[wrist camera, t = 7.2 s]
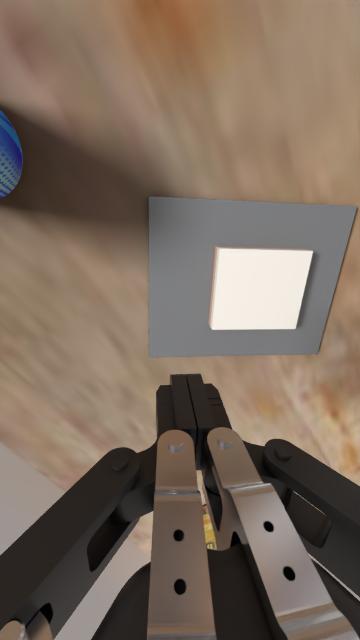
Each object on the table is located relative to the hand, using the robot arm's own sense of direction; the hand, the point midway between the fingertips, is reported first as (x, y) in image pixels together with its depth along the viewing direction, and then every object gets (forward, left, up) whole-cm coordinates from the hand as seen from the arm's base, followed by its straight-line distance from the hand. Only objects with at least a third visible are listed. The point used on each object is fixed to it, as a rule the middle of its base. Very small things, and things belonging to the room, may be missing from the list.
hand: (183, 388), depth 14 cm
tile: (0, +5, -17) cm, 18 cm away
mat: (0, +9, -19) cm, 21 cm away
